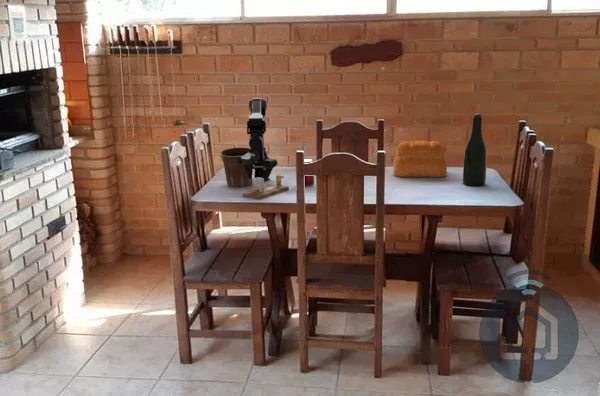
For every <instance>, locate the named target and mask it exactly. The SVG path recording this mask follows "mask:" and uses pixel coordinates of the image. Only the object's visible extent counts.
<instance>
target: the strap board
mask: <svg viewBox="0 0 600 396" xmlns="http://www.w3.org/2000/svg"><path fill="white" fill-rule="evenodd" d="M289 187H290V186H289V185H282V184H281V186H276V183H271V184H267V185H264V192H261V193H259V192H255V193H252V194H248V192H249V191H253V189H251V190H248V191H245V192H242V197H244V198H249V199H255V200H262V199H266V198H268V197H271V196H273V195H277V194H280V193H282V192H285V191H288V190H290V189H289Z"/></svg>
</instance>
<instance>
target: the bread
mask: <svg viewBox="0 0 600 396" xmlns="http://www.w3.org/2000/svg"><path fill="white" fill-rule="evenodd" d="M445 152H446V151H445V148H444V146H443V145H442V143H440V142H439V141H437V140H431V141H429V140H424V139H423V140H420V139H419V140H418V139H417V140H411V141H407V140H404V141H401V142H400V143H399V144H398V145H397V147H396V150H395V153H396V154H395V155H396V156H395V158H394V160H393V169H392V171H393V175H394V176H395V177H398V178H424V177H425V178H431V177H432V178H434V177H435V178H440V177H442V178H443V177H446V176H447V173H448V172H447V171H448V167H447V162H446V159H445V158H446V157H445V154H446V153H445Z"/></svg>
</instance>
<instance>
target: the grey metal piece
mask: <svg viewBox="0 0 600 396" xmlns="http://www.w3.org/2000/svg"><path fill="white" fill-rule="evenodd" d="M264 186H265V181H264V178H258V177H256V178H255V177H254V178H253V177H252V190H253V191H251V190H248V191H249V192H248V191H247V192H248V194H252V193H255V192H259V193H261V192H264Z"/></svg>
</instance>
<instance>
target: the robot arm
mask: <svg viewBox="0 0 600 396" xmlns="http://www.w3.org/2000/svg"><path fill="white" fill-rule="evenodd" d="M267 103H268V101H267V100H265V99H263V98H261V97H254V98H251V100H248V111H250V115H249V116H248V120H246V135H249V142H248V146H249V147H248V148H249V150H248V153H247V154H245V155H244V156H241V157H239V159H238V163H240V165H242V166H243V167H245V169H246V171H247V174H248V176H249V179H252V180H253V175H254V178H256V177H258V178H264V182H268V181H270V180H271V178H270V175H271V173H272V171H273V169H274V168H275V167H276V166H278V160H277V159H276V158H270V157H269V156H268V151H267V150H266V147H265V141H264V139H265V138H264V135H265V133H266V132H267V121H266V120H265V117H266V111H268V104H267ZM253 171H254V172H253Z"/></svg>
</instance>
